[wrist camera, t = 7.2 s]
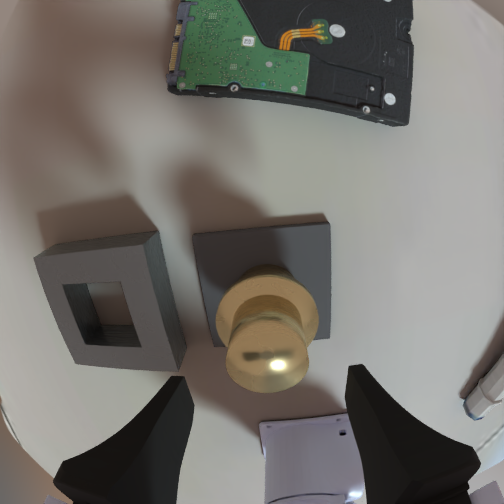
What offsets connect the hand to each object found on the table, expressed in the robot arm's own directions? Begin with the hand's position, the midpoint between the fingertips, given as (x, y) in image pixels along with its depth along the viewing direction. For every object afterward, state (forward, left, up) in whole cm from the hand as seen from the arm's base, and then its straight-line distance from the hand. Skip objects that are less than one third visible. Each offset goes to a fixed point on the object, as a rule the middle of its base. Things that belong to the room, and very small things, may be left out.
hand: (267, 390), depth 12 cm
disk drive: (-4, -17, -10) cm, 21 cm away
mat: (0, 0, -10) cm, 10 cm away
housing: (+12, 0, -10) cm, 15 cm away
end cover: (0, 0, -9) cm, 9 cm away
